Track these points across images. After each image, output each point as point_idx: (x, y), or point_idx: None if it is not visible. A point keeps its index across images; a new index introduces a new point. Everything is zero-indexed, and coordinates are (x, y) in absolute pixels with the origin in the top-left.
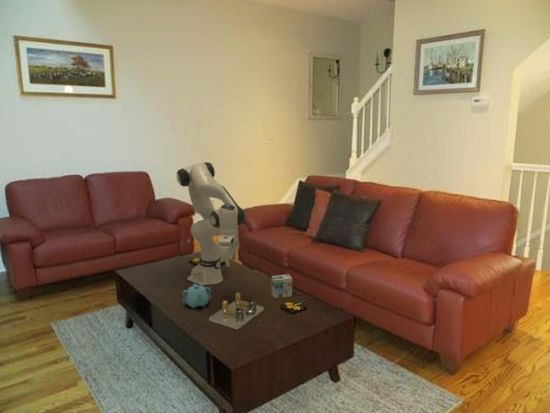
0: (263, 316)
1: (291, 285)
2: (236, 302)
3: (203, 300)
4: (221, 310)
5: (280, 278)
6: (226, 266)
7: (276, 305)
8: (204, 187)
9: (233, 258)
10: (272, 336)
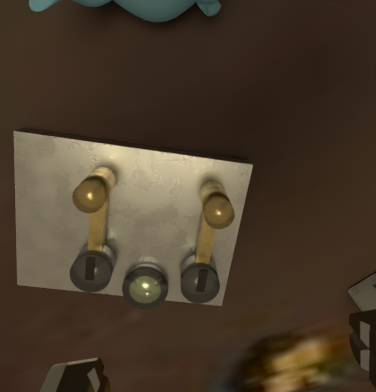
0: (170, 313)
1: None
2: (201, 194)
3: (123, 4)
4: (108, 152)
5: None
6: (56, 368)
7: (280, 319)
8: None
9: (372, 358)
10: None
